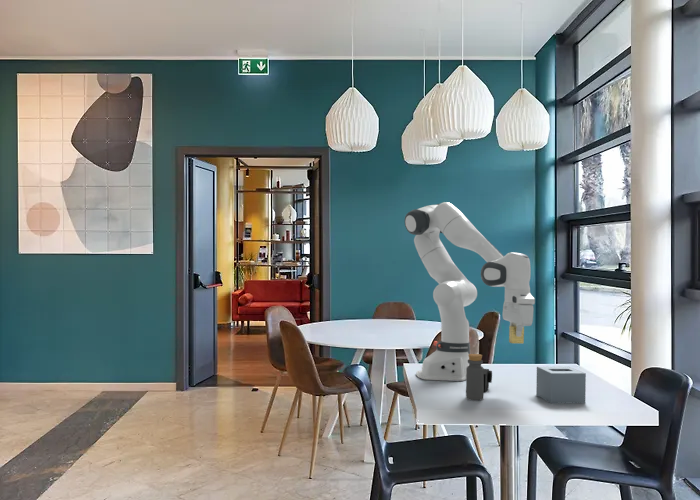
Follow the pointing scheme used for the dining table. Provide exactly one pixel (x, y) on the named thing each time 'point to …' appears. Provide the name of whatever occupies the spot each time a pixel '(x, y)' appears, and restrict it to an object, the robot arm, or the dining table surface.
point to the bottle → (474, 378)
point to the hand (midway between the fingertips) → (516, 335)
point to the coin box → (561, 384)
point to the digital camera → (487, 379)
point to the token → (514, 338)
